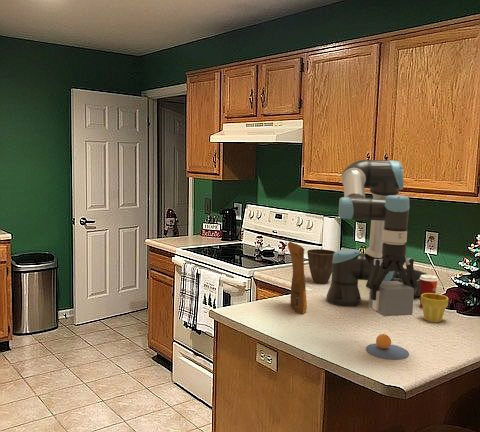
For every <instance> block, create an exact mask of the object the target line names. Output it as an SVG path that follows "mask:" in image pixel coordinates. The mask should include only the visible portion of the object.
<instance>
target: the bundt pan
mask: <svg viewBox="0 0 480 432" xmlns="http://www.w3.org/2000/svg"><path fill="white" fill-rule="evenodd" d="M404 270H405V273H406V275H407V277H408V273H407V268H406V267H404ZM414 272H415V277H416V282H417V287H414V298H417V297H420V277H421V275H430V274H429V273H427V272H423V271H421V270H417V269H414ZM408 279H409V278H408ZM390 281H399V282H401V283H403V281H402V279H401V277H400V275H399V273H398V271H394V274H393V277H392V279H391V280H390ZM403 284H404V283H403Z"/></svg>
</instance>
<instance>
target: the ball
mask: <svg viewBox="0 0 480 432" xmlns="http://www.w3.org/2000/svg"><path fill="white" fill-rule="evenodd" d="M375 344H377V346H378V347H379V348H381V349H387V348H389V347H390V345H391V344H392V339H391V337H390V336H389V335H388V334H385V333H381V334H378V336H377V337H376V340H375Z"/></svg>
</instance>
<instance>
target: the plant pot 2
mask: <svg viewBox="0 0 480 432" xmlns="http://www.w3.org/2000/svg"><path fill="white" fill-rule="evenodd" d="M421 304H422V306H423V308H422V314H423V319H424V320H425V321H427V322H432V323H441V322H442V320H443V316H444V314H445V311H446V308H447V307H448V305H449V297H448V296H446V295H444V294H439V293H436V294H435V293H424V294H422V295H421Z"/></svg>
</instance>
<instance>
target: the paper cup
mask: <svg viewBox="0 0 480 432" xmlns="http://www.w3.org/2000/svg"><path fill="white" fill-rule="evenodd" d="M438 281H439V278H438V276H436V275H433V274H429V275H421V277H420V296H419V307H420V308H421V309H423V306H422V304H421V295H422V294H424V293H435V294H437V285H438Z"/></svg>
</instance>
